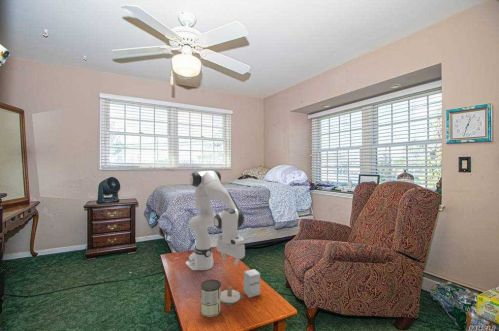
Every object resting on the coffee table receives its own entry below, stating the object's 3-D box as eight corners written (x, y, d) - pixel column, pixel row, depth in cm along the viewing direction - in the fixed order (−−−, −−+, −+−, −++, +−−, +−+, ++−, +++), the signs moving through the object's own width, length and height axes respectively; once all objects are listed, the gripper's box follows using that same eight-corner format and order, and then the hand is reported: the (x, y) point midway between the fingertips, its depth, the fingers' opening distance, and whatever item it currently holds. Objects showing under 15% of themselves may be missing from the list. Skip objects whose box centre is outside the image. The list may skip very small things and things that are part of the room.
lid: (214, 297, 135) (214, 287, 135) (230, 289, 144) (230, 280, 144) (228, 306, 127) (229, 295, 127) (244, 297, 136) (244, 287, 136)
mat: (214, 298, 135) (214, 297, 135) (230, 290, 144) (230, 289, 144) (228, 306, 127) (228, 306, 127) (244, 297, 136) (244, 297, 136)
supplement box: (249, 298, 135) (249, 276, 135) (243, 292, 142) (243, 270, 142) (260, 295, 139) (260, 273, 139) (254, 289, 145) (254, 268, 145)
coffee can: (198, 308, 125) (198, 281, 125) (216, 303, 130) (216, 277, 130) (204, 320, 116) (204, 291, 116) (223, 314, 121) (224, 286, 121)
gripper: (213, 235, 140) (214, 259, 140) (238, 243, 126) (238, 269, 126) (222, 233, 145) (222, 256, 145) (246, 240, 131) (246, 265, 131)
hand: (230, 262), depth 135 cm, fingers open, 8 cm apart
